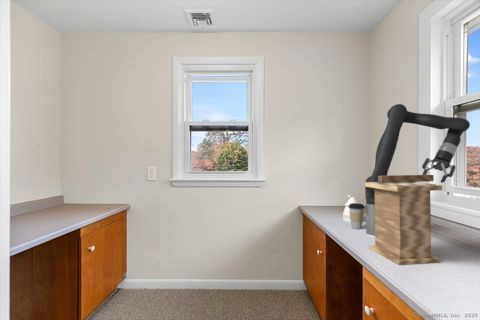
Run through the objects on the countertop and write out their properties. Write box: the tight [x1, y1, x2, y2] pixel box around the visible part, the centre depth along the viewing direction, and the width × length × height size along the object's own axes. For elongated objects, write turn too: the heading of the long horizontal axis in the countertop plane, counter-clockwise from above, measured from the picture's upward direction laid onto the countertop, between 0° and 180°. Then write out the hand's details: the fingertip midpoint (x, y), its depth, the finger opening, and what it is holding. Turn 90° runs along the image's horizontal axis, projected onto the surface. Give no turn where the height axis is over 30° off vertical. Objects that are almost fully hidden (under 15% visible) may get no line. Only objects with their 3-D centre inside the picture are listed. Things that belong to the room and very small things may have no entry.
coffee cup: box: [349, 203, 365, 230], centre depth 184 cm, size 9×9×15 cm
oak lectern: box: [364, 181, 443, 266], centre depth 132 cm, size 20×24×32 cm
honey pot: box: [342, 194, 364, 223], centre depth 206 cm, size 13×13×18 cm
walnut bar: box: [378, 174, 435, 183], centre depth 139 cm, size 26×3×3 cm, turn 97°
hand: (432, 179), depth 157 cm, fingers open, 8 cm apart
